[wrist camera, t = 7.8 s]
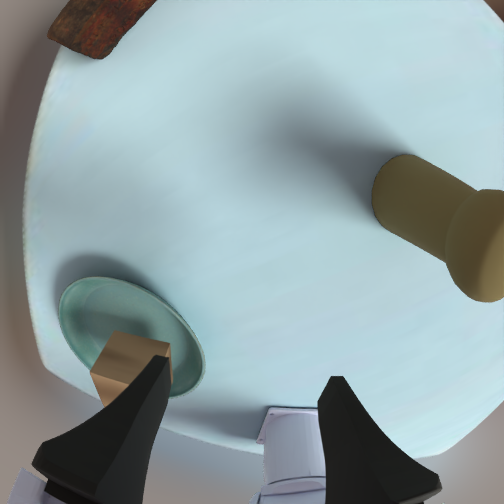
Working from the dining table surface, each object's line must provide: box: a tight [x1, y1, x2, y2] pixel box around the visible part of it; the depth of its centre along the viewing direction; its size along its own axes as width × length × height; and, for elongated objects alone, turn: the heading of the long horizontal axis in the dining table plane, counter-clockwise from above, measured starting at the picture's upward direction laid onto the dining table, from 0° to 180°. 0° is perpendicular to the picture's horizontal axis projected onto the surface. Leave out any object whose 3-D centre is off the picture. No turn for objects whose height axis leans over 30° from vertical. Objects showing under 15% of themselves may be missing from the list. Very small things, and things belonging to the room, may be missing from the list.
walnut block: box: [90, 330, 173, 407], centre depth 19 cm, size 5×5×5 cm
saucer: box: [58, 276, 205, 399], centre depth 22 cm, size 15×15×3 cm
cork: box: [372, 155, 504, 302], centre depth 12 cm, size 6×6×11 cm
